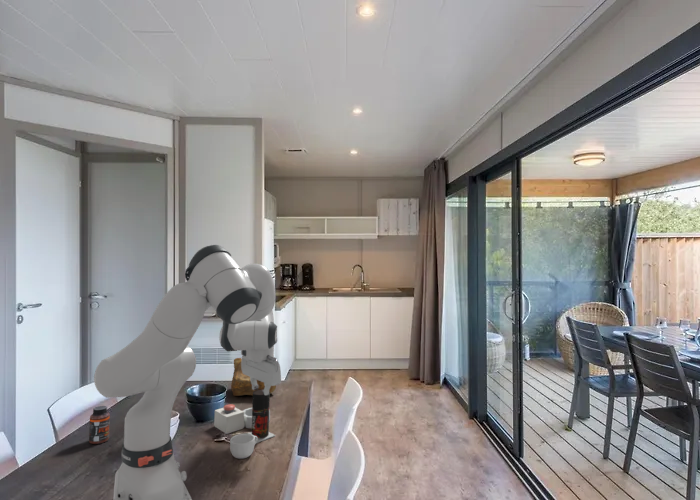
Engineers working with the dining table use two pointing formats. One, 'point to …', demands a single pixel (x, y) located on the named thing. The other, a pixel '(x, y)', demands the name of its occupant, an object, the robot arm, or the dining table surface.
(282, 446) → the dining table surface
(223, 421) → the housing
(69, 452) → the dining table surface
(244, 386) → the rough brown rock
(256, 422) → the deodorant
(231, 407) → the plunger
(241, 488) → the dining table surface
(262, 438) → the pad
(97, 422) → the supplement bottle
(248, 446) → the teacup
